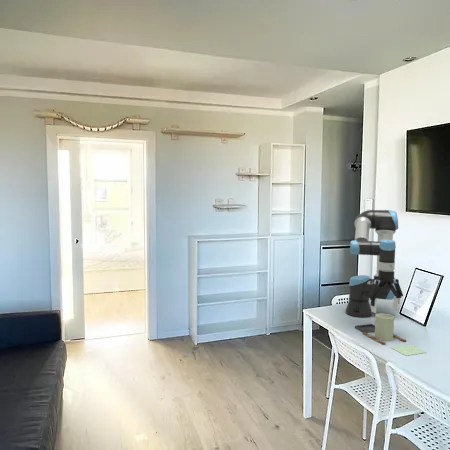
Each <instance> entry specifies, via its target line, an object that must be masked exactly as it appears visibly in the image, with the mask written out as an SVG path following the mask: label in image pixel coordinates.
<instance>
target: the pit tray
mask: <svg viewBox="0 0 450 450" xmlns="http://www.w3.org/2000/svg"><path fill="white" fill-rule="evenodd" d="M354 329H355V330H357V331H359V332H361V333H363V332H366V333H368V334H369V333H375V324H373V323H367V324H358V325H354Z"/></svg>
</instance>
